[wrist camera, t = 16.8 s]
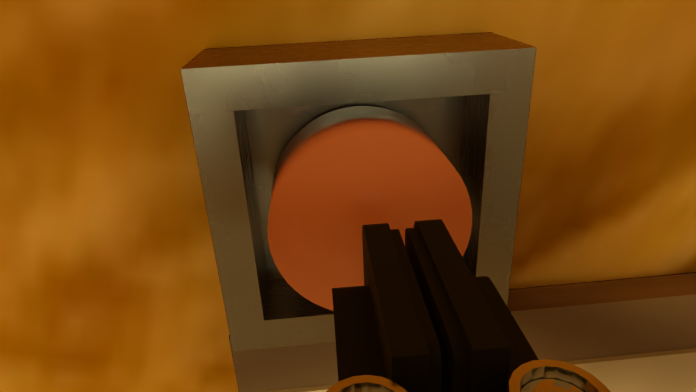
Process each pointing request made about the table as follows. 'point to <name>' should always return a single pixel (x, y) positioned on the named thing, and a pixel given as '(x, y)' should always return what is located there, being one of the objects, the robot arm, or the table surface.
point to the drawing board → (547, 338)
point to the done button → (356, 195)
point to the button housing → (336, 93)
